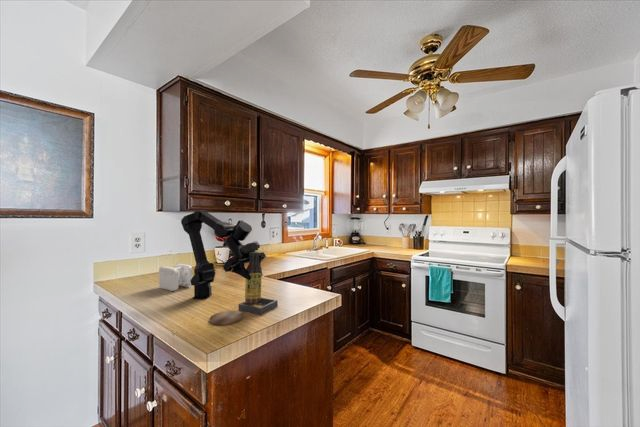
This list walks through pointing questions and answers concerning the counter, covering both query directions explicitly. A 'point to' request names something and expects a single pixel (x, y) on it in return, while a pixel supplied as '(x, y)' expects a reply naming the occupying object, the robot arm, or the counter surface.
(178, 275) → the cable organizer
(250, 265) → the sauce bottle
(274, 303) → the dark grey square tray
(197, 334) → the counter surface
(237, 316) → the coaster
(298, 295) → the counter surface
